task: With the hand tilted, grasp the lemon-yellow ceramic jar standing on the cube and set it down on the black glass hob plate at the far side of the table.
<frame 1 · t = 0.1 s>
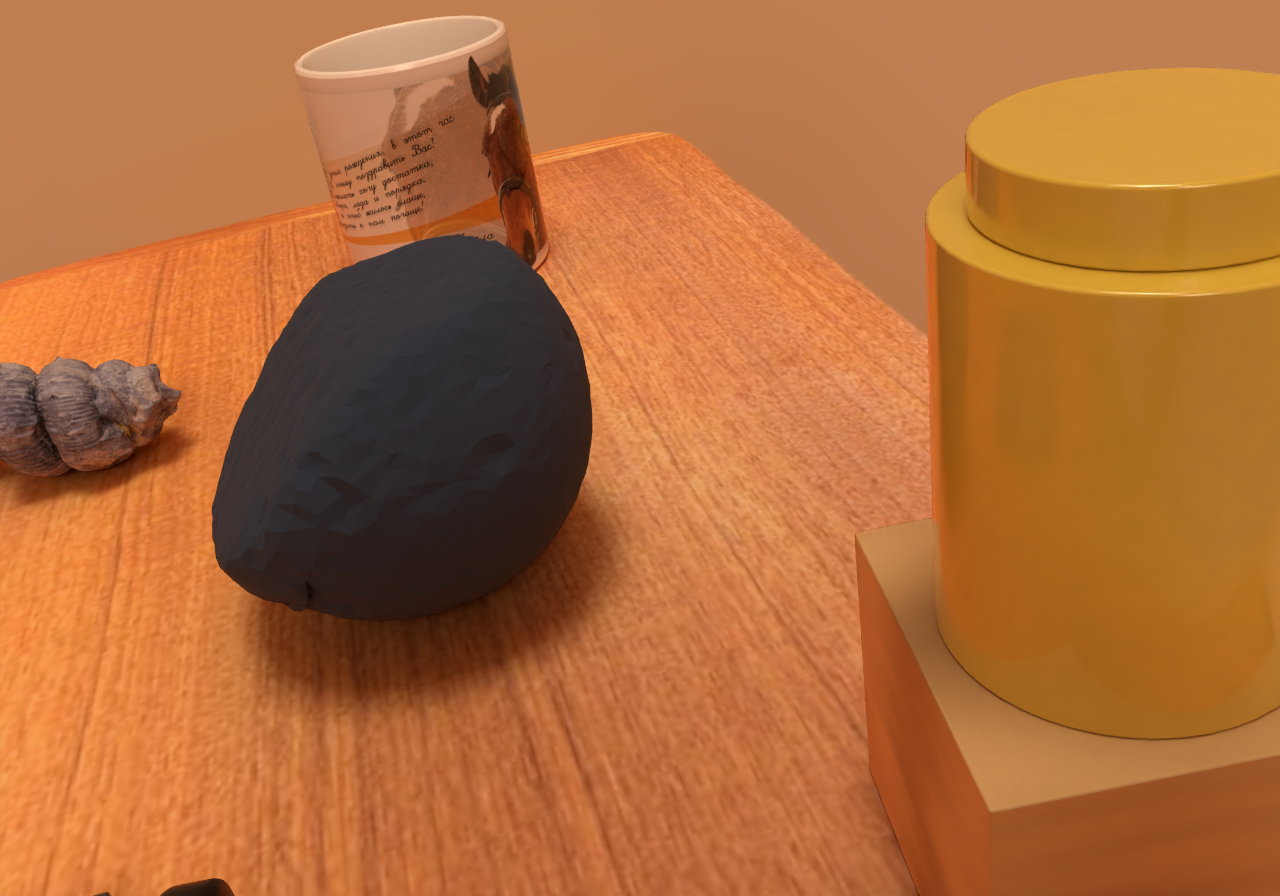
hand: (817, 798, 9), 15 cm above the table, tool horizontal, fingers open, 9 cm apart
seashell: (76, 471, 48), on the table
mug: (471, 260, 61), on the table
jar: (1116, 610, 21), point 7 cm above the table, touching cube
cube: (1096, 866, 25), on the table
decorative stone: (439, 579, 38), on the table
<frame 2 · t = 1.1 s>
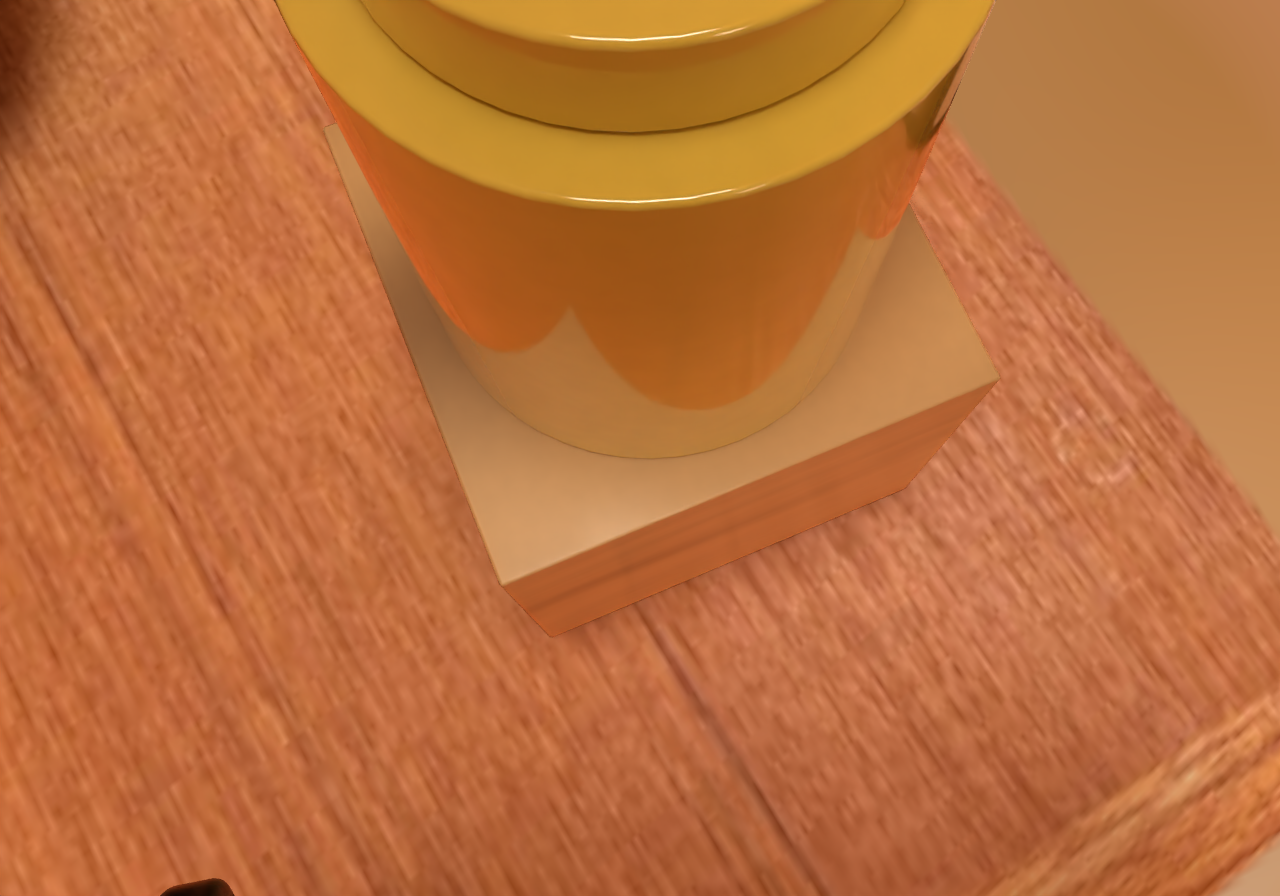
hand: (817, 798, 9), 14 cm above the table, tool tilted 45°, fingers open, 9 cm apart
jar: (649, 247, 17), point 7 cm above the table, touching cube
cube: (654, 391, 24), on the table
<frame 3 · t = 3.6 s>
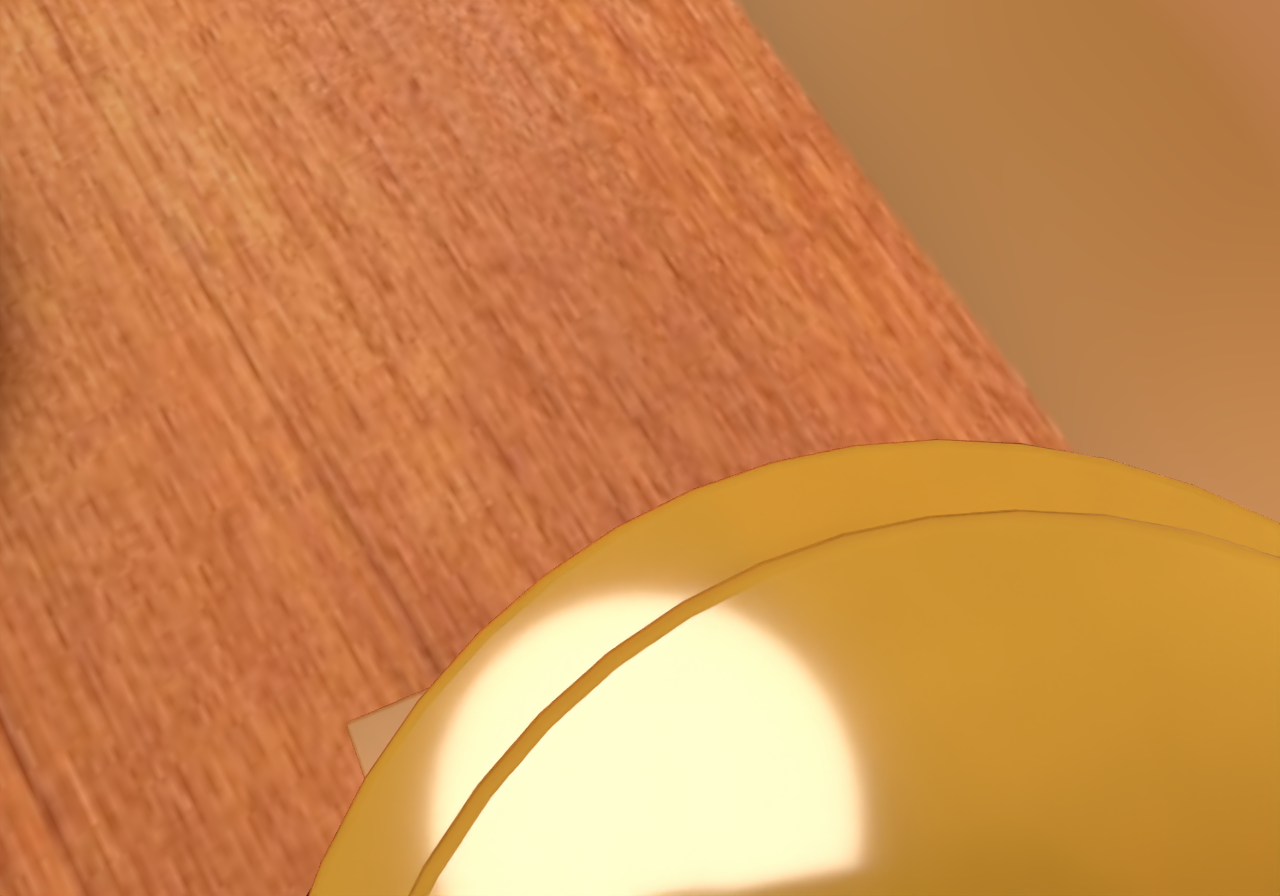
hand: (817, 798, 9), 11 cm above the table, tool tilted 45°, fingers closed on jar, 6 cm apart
cube: (752, 861, 19), on the table
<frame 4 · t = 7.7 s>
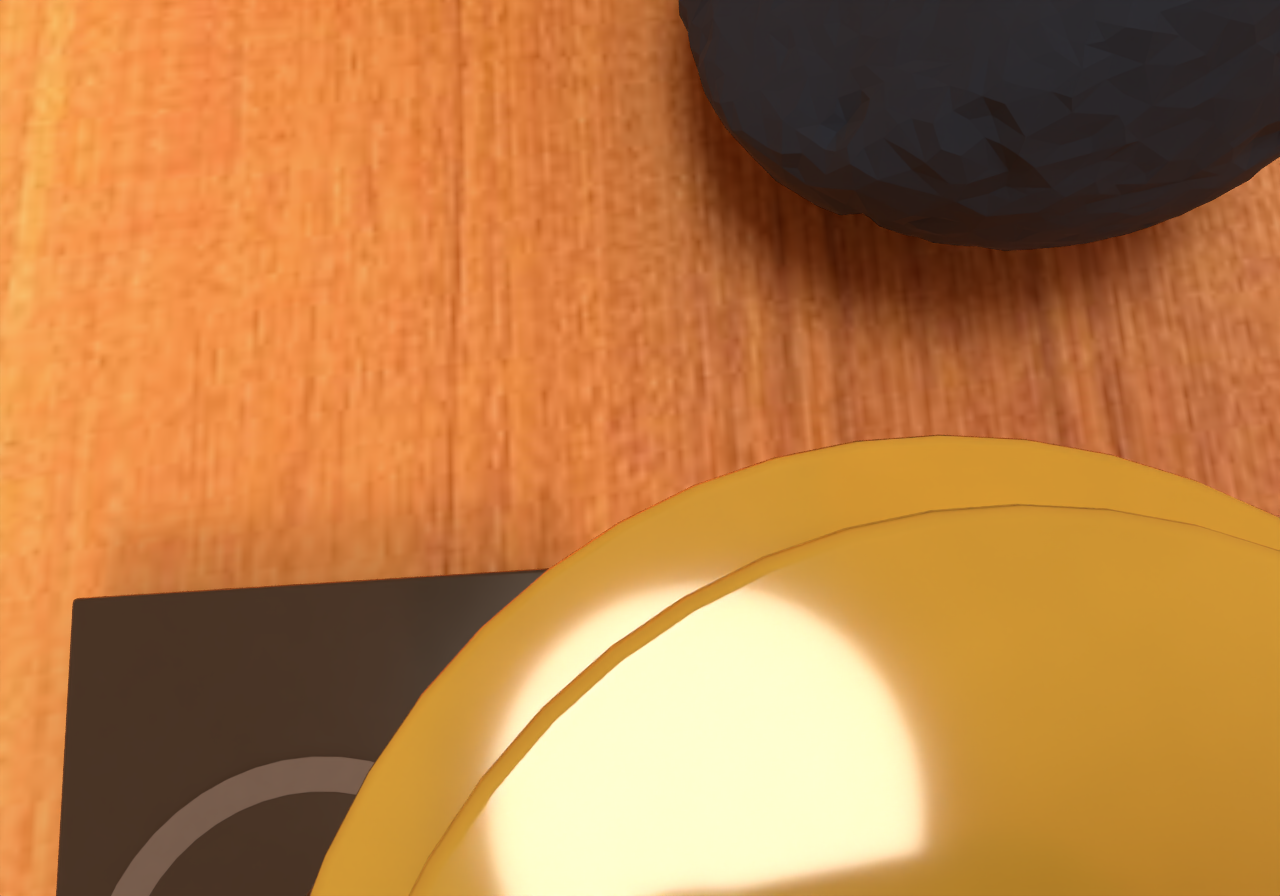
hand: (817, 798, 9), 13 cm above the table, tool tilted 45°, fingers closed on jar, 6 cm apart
decorative stone: (949, 86, 26), on the table
when the fingers open (5 cm above the table, at t = 12.1 s): jar stays where it is, resting on hob.
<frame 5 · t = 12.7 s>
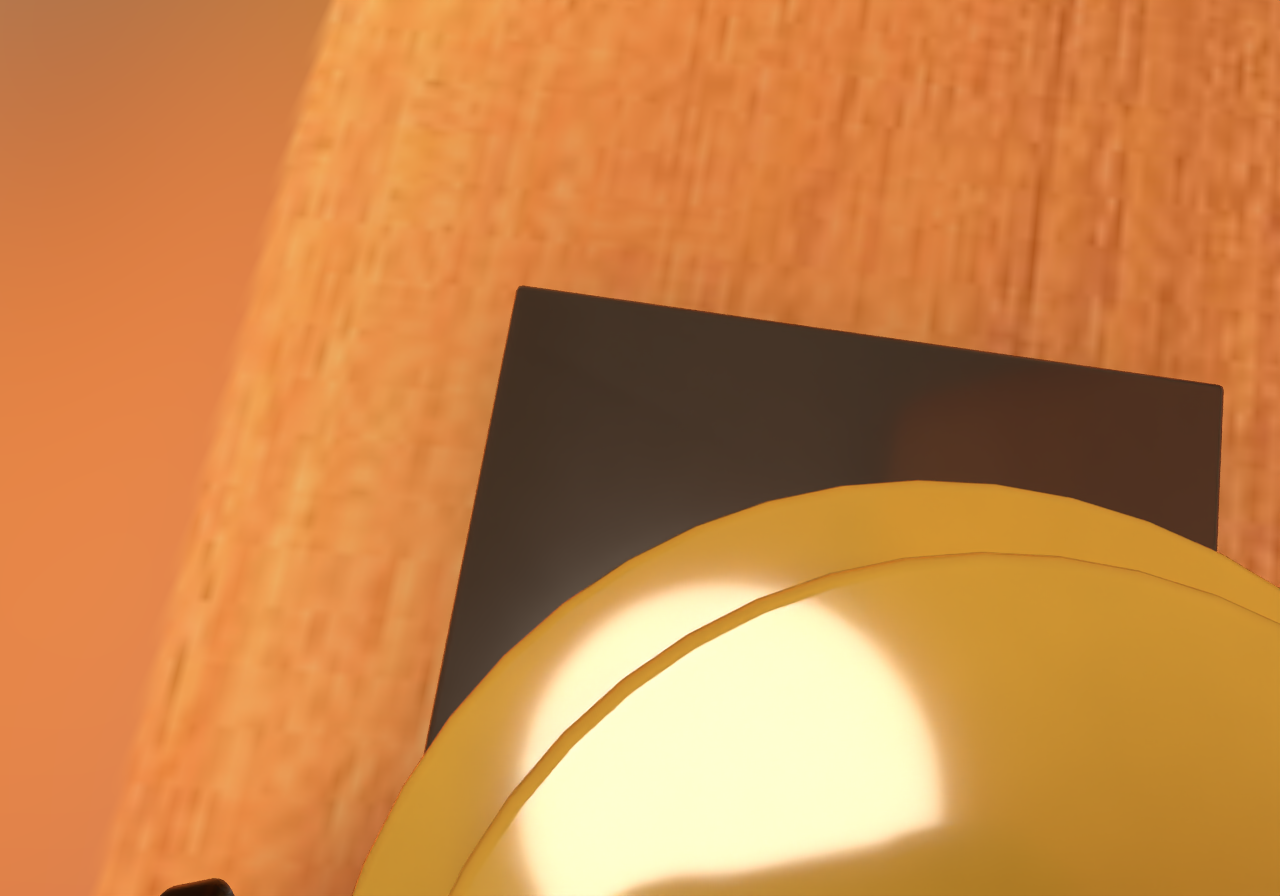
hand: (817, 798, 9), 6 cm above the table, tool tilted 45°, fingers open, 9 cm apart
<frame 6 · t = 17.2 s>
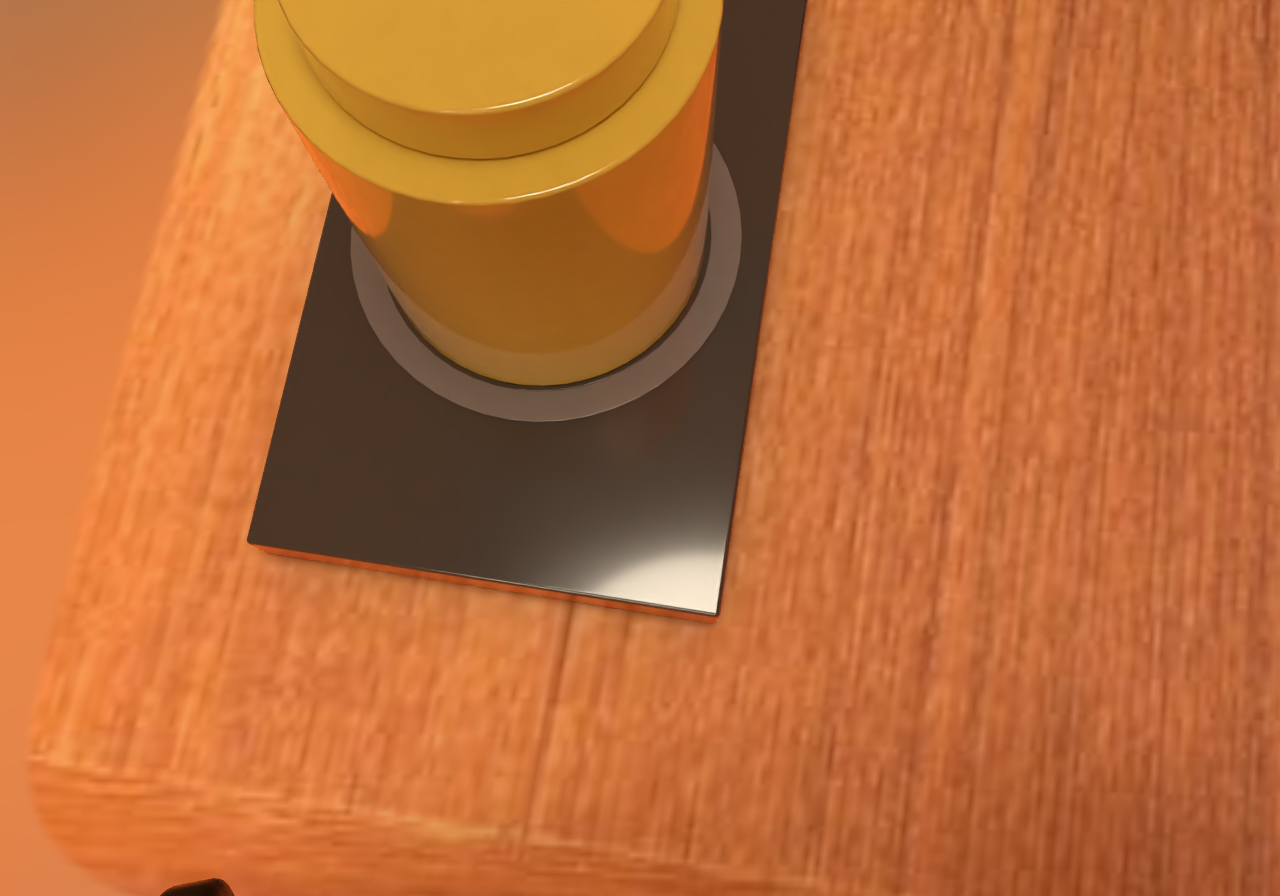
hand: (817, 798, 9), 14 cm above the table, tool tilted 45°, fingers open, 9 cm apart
hob: (551, 259, 25), on the table
jar: (545, 233, 24), point 1 cm above the table, touching hob
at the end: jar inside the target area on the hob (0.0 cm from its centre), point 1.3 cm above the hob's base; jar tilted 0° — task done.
